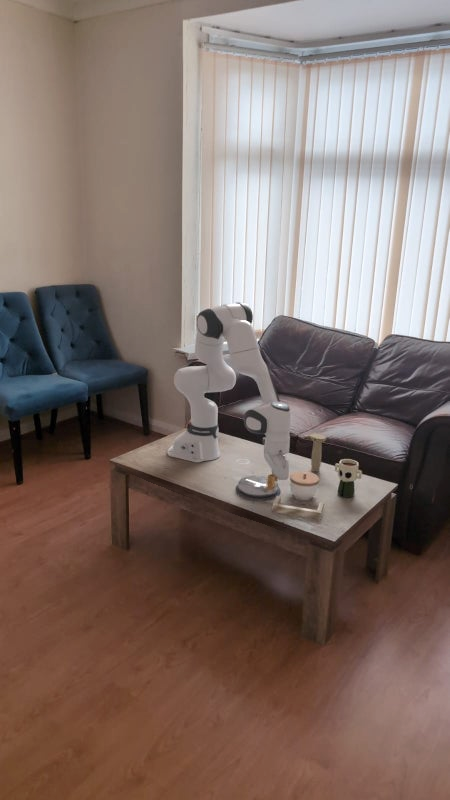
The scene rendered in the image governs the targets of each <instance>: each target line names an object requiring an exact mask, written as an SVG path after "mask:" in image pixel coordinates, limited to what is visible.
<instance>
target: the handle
mask: <svg viewBox="0 0 450 800" xmlns="http://www.w3.org/2000/svg"><path fill="white" fill-rule="evenodd" d="M309 438H310V440H312V441H313V445H312V451H311V456H310V457H311V460H310V464H311V467H310V469H311V471H312V473H313V472H314V473H315V472H316V473H318V472H320V470H321V468H320V467H321V463H322V447H323V446H322V445H323V444H322V443H324V442H325V441H326V440H327V436H326V435H325V434H324V435H323V434H319V433H311V434H310V435H309Z"/></svg>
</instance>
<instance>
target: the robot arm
mask: <svg viewBox="0 0 450 800" xmlns="http://www.w3.org/2000/svg"><path fill="white" fill-rule="evenodd" d="M253 316H254V315H253V311H252V309H251V307H250V305H249V304H247V303H245V302H234V303H226V304H225V303H224V304H221V305H217V306H213V307H212V308H206V309H204V310H202V311H200V312H199V313H198V315H197V317H196V327H197V329H196V334H195V344H194V346H195V347H194V355H195V357H196V358H197V359H198V361H200V362H201V363H203V364H206V365H199V366H198V365H197V366H196V365H193V366H192V365H191V366H186V367H181V368H179V369H177V371H176V372H175V374H174V377H173V383H174V386H175V388H176V390H177V391H179V392H180V393H181V394H182V395H184V396H185V398H186V399H187V402H188V403H189V405H190V416H191V417H190V420H188V423H186V425H185V429H186V430H185V431H183V432H181V433H180V434H179V435H177V436H176V437H175V438H174V440H173V444H172V445H171V446H170V447H169V448H168V449H167V457H173V458H176V459H179V460H183V461H188V462H193V463H202V462H205V461H206V462H207V461H208V462H209V461H213V460H215V459H218V458H219V457H220V456H221V452H220V448H219V442H218V438H219V437H218V436H219V423H218V413H219V412H218V411H219V409H218V405H217V404H216V402H215V401H213V400H211V399H208V398H207V397H205V394H206V393H218V392H219V393H221V392H226V391H229V390H232V389H233V388H234V386H235V385H236V381H237V375H236V372H237V373H239V374H241V375H243V376H247V377H250V378H252V379H253V380H254V381H255V382H256V384H257V387H258V390H259V393H260V397H261V399H262V404H260V405H257V406H254V407H251V408H250V409H248V410H246V411H245V412H244V415H243V424H244V427H245V428H246V429H247V431H248V432H250V433H251V434H256V435H265V437H262V443H263V456H264V457H263V458H264V460H265V462H266V464H267V465H268V466H269V468H270V469H271V470H270V471H271V474H272V475H275V481H276V482H278V480H279V481H284V480H285V481H286V480H288V479H289V477H290V475H289V472H290V471H289V470H290V467H289V466H290V464H289V459H288V458H287V456H286V455H287V454H288V453H289V452H290V444H291V443H290V442H291V437H290V432H291V429H292V428H291V427H292V411H291V408H290V406H289V405H288V404H286V403H284V402H282V401H281V399H280V397H279V395H278V391H277V389H276V386H275V382H274V380H273V377H272V374H271V370H270V368H269V365H268V364H267V363H266V362H265V361H264V358H263V357H262V354H261V350H260V347H259V343H258V339H257V335H256V332H255V330H254V327H253V326H252V323H253V318H254V317H253ZM224 341H226V342H227V348H228V353H229V359H230V363H231V365H232V367H233V368H232V367H231V366H229V364H227V362H226V361H225V359H224V356H223V355H224V354H223V353H224ZM235 371H236V372H235Z"/></svg>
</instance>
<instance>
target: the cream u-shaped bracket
mask: <svg viewBox="0 0 450 800" xmlns="http://www.w3.org/2000/svg"><path fill="white" fill-rule="evenodd" d="M281 502H282V496H281V495H279V496H277V497H276V498H274V501H273V504H272V507H271V508H272V509H271V512H272V513H278V514H279V513H280V514H284V515H290V516H296V517H303V518H310V519H315V520H321V518H322V515H323V513H324V512H323V511H324V509H325V508H324V505H325V504H324V502H320V501H319V503H318V507H317V509H310V508H304V507H300V506H299V507H298V506H292V505H287V504H286V505H285V504H281Z"/></svg>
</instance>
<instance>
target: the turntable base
mask: <svg viewBox="0 0 450 800" xmlns="http://www.w3.org/2000/svg"><path fill="white" fill-rule="evenodd" d="M235 493H236V494H237V495H238V496H240V497H241V498H244V499H245V500H246V499H247V500H250V501H256V502H257V501H260V502H262V501H264V502H265V501H272V500H275V499H276V497H277V496H281V493H282V490H281V488H280V487H279V486H278V492H277V493H276V494H275V495H273V496H271V497H266V498H255V497H250V496H246V495H244V494H242V493H241V492H240V491H239V490H238V484H236V486H235Z"/></svg>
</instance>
